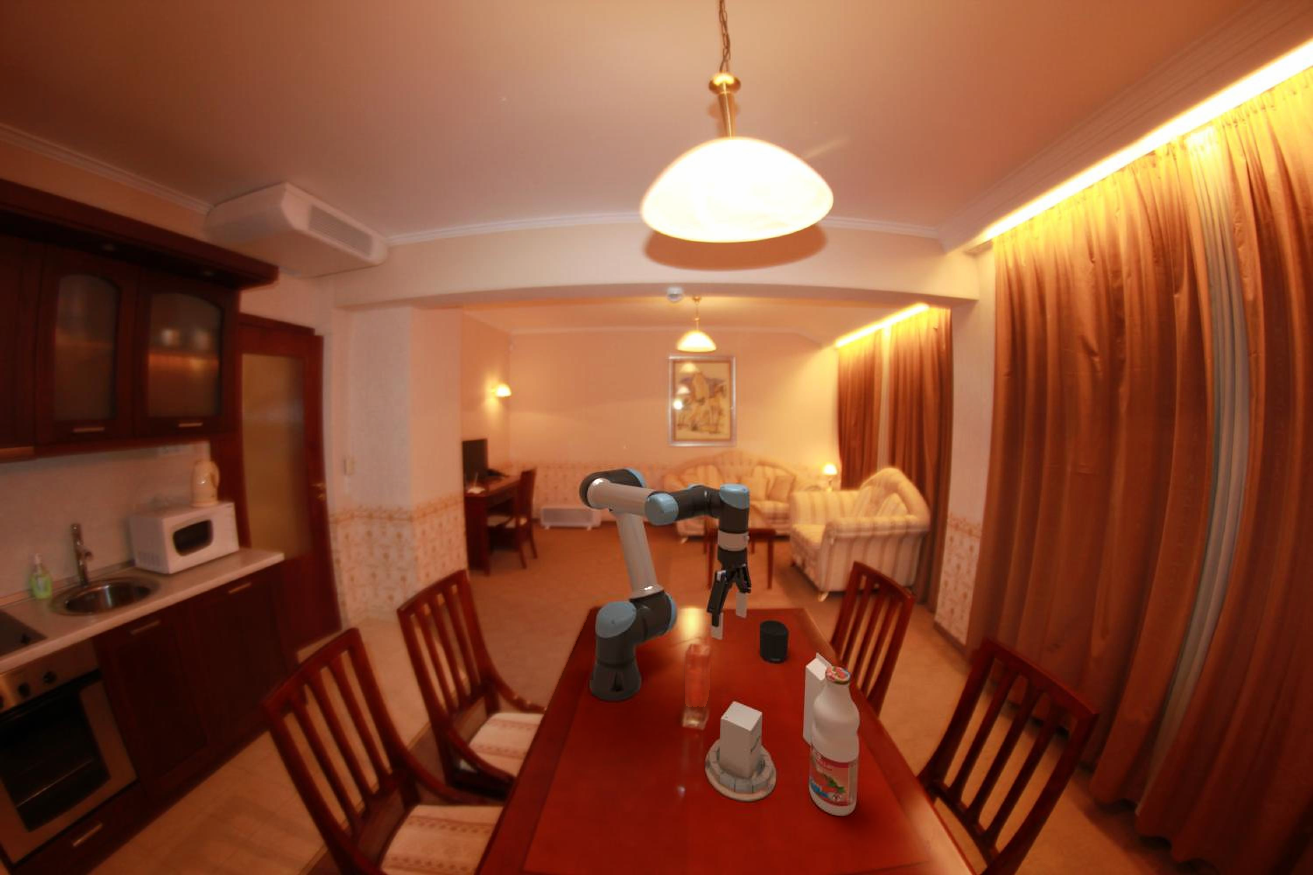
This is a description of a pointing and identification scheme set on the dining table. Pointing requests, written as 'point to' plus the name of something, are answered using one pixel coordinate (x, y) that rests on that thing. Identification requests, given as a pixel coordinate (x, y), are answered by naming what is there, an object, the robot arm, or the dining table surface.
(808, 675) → the milk
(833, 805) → the fruit juice
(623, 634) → the robot arm
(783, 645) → the black smart speaker
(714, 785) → the silver round shallow dish
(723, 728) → the supplement box
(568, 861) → the dining table surface
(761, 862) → the dining table surface
